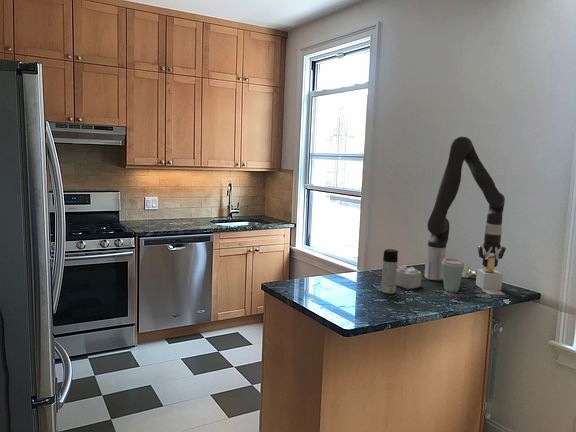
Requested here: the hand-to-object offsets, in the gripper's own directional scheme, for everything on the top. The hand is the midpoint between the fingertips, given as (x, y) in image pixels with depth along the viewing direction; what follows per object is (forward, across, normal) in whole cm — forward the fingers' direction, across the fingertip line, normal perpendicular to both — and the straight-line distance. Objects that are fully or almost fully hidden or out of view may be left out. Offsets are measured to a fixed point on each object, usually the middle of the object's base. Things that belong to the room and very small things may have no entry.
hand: (489, 266), depth 238 cm
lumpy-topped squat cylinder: (+11, +41, -3) cm, 43 cm away
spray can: (+11, +54, +10) cm, 56 cm away
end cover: (+6, 0, 0) cm, 6 cm away
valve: (+11, +1, -17) cm, 20 cm away
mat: (+11, +2, +9) cm, 14 cm away
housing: (+11, 0, 0) cm, 11 cm away
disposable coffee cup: (+11, +22, +6) cm, 25 cm away
